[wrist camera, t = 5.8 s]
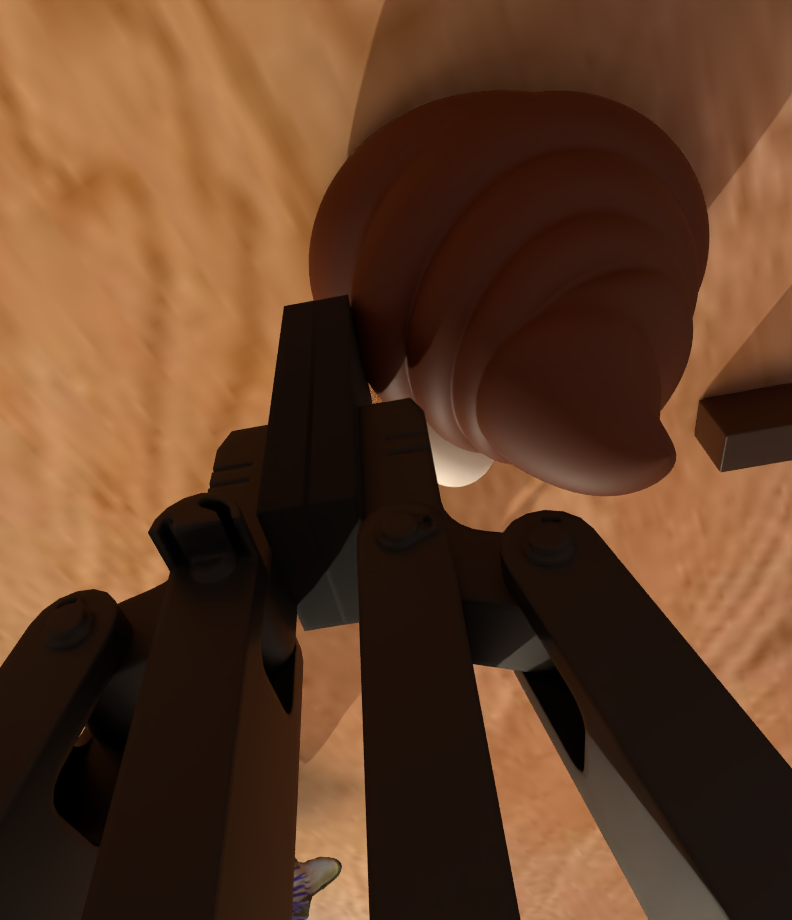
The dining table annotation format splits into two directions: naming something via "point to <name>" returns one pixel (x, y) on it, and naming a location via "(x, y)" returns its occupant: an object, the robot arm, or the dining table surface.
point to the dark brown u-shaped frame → (747, 428)
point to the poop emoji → (522, 281)
